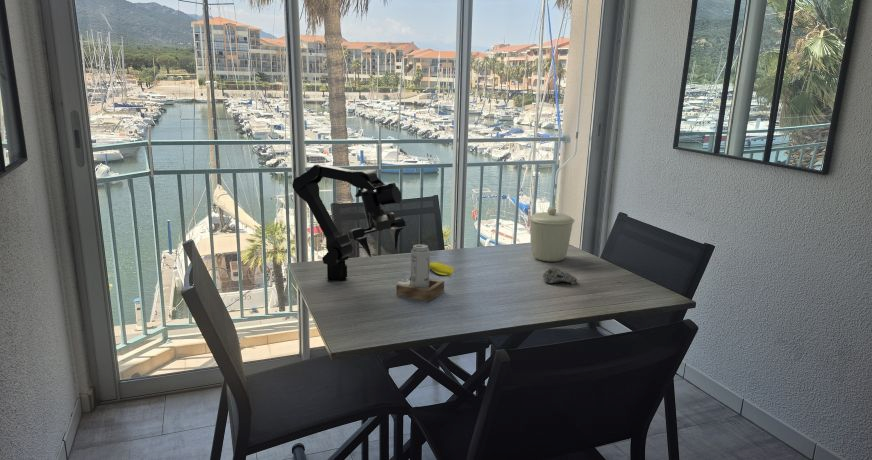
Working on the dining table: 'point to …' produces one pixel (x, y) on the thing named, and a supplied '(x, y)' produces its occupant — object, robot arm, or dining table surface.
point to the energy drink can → (420, 266)
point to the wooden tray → (421, 290)
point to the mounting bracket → (404, 282)
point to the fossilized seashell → (558, 276)
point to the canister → (550, 235)
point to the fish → (441, 268)
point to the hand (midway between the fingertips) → (383, 253)
